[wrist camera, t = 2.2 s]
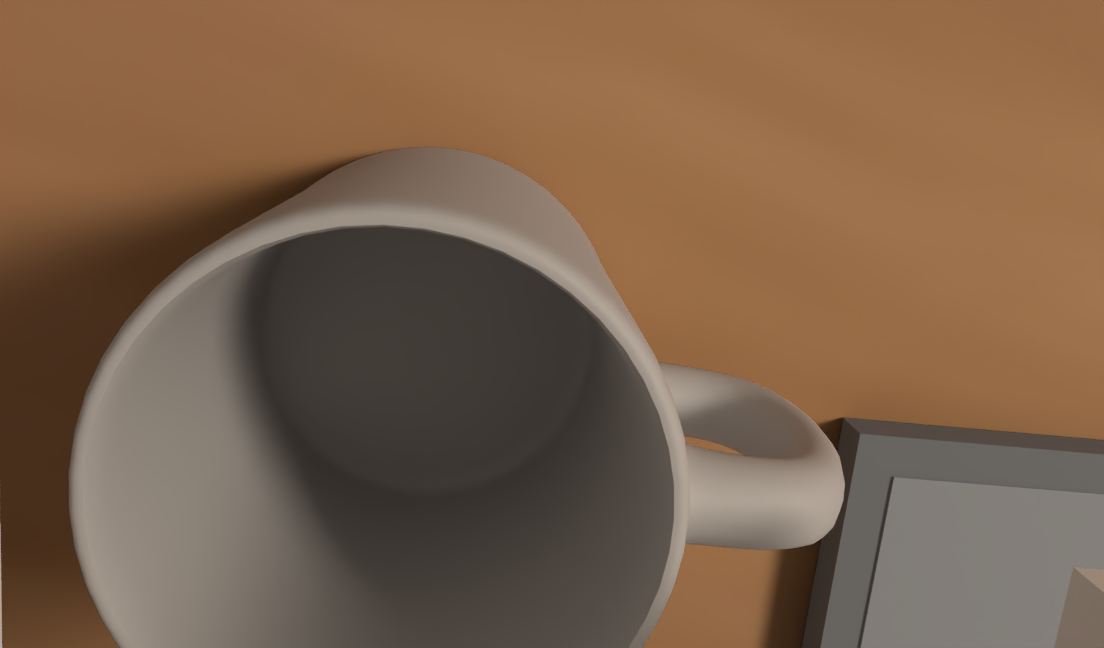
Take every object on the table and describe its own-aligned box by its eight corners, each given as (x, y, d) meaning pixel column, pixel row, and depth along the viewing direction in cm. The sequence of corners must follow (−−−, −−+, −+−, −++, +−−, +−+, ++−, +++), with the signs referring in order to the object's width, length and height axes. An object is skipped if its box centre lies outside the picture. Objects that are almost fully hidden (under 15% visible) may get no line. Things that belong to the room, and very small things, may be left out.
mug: (236, 468, 25) (41, 761, 14) (269, 117, 23) (71, 148, 12) (712, 527, 26) (866, 840, 15) (780, 198, 24) (1012, 288, 13)
